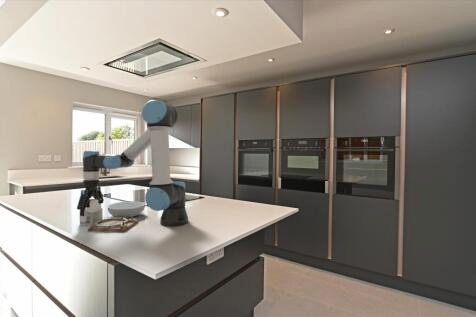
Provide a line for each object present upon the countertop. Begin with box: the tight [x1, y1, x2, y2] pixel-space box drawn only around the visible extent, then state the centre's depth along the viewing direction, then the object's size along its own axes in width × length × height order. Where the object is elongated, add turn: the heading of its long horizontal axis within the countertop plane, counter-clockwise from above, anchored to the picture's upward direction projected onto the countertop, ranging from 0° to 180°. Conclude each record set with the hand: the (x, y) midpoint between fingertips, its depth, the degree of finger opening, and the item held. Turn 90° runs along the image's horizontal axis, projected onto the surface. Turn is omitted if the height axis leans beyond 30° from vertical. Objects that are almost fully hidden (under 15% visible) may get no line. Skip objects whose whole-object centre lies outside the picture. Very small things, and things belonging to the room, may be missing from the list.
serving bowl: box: [107, 200, 146, 219], centre depth 147 cm, size 21×21×7 cm
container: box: [79, 198, 104, 227], centre depth 130 cm, size 8×8×13 cm
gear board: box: [87, 216, 139, 233], centre depth 126 cm, size 18×16×4 cm
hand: (91, 218), depth 131 cm, fingers open, 13 cm apart
